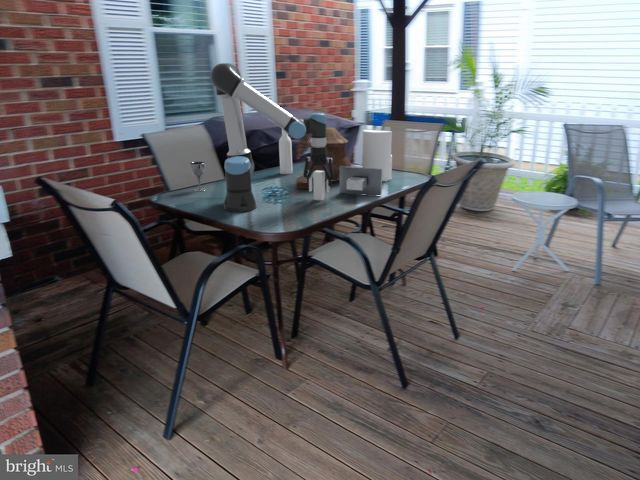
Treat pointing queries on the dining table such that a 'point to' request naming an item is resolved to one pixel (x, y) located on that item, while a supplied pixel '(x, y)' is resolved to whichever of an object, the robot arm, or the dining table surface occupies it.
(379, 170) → the grey block
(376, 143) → the cylinder
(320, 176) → the rail post
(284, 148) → the bottle
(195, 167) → the wine glass
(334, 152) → the pottery vessel
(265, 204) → the dining table surface
